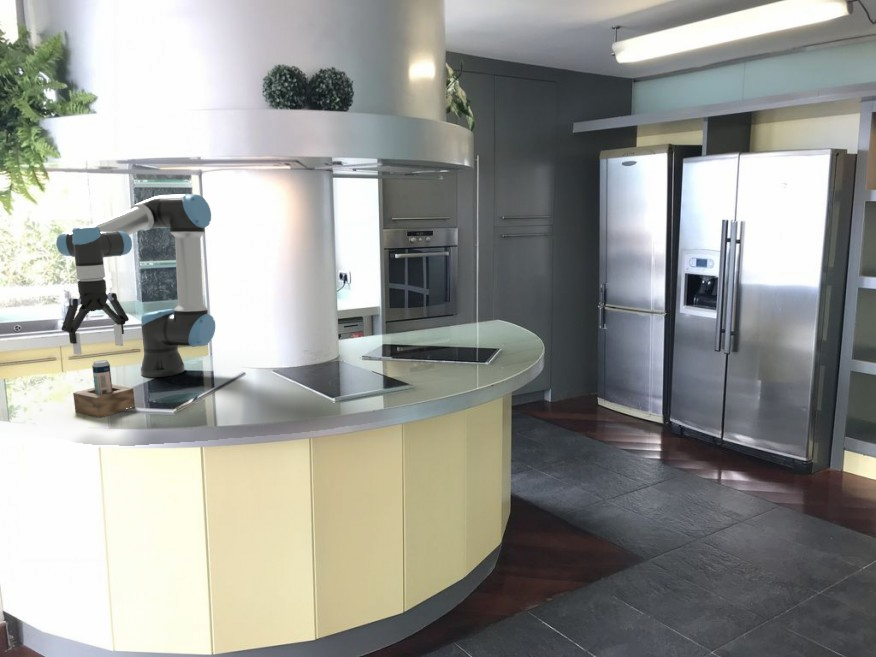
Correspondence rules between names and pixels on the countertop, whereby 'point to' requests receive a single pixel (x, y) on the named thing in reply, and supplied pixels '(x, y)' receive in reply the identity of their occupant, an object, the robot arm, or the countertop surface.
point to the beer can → (102, 377)
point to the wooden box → (103, 401)
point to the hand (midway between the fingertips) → (99, 349)
